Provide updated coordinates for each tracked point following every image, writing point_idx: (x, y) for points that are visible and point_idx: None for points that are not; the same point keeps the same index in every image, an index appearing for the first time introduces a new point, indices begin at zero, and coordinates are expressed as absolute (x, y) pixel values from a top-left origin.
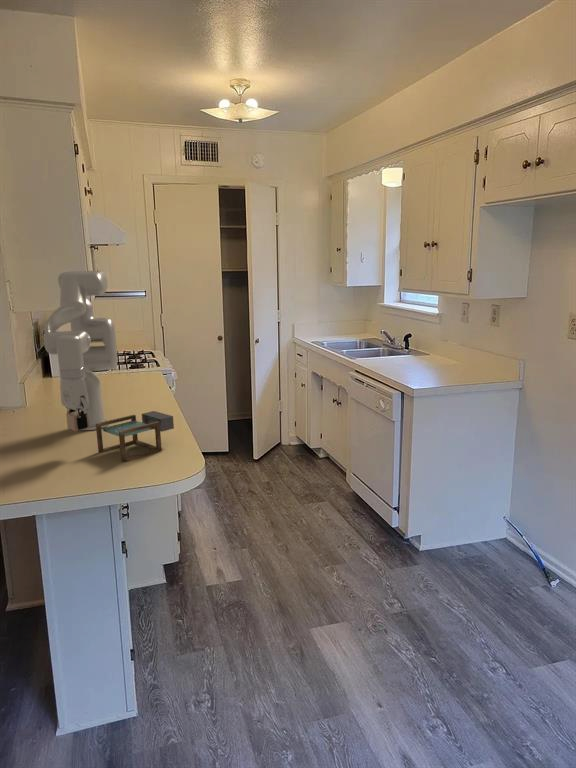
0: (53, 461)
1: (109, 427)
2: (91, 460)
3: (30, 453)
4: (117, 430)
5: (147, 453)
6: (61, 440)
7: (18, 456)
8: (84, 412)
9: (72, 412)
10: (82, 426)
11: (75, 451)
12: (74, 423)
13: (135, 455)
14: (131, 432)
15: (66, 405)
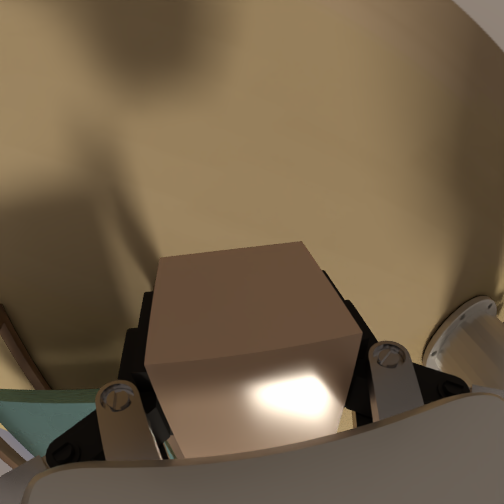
0: (209, 64)
1: None
2: (81, 221)
3: (416, 58)
4: (51, 418)
5: (33, 383)
6: (450, 224)
7: (415, 10)
8: (29, 461)
9: (333, 388)
10: (130, 332)
11: (281, 209)
12: (152, 305)
13: (17, 355)
14: (7, 428)
15: (346, 464)
